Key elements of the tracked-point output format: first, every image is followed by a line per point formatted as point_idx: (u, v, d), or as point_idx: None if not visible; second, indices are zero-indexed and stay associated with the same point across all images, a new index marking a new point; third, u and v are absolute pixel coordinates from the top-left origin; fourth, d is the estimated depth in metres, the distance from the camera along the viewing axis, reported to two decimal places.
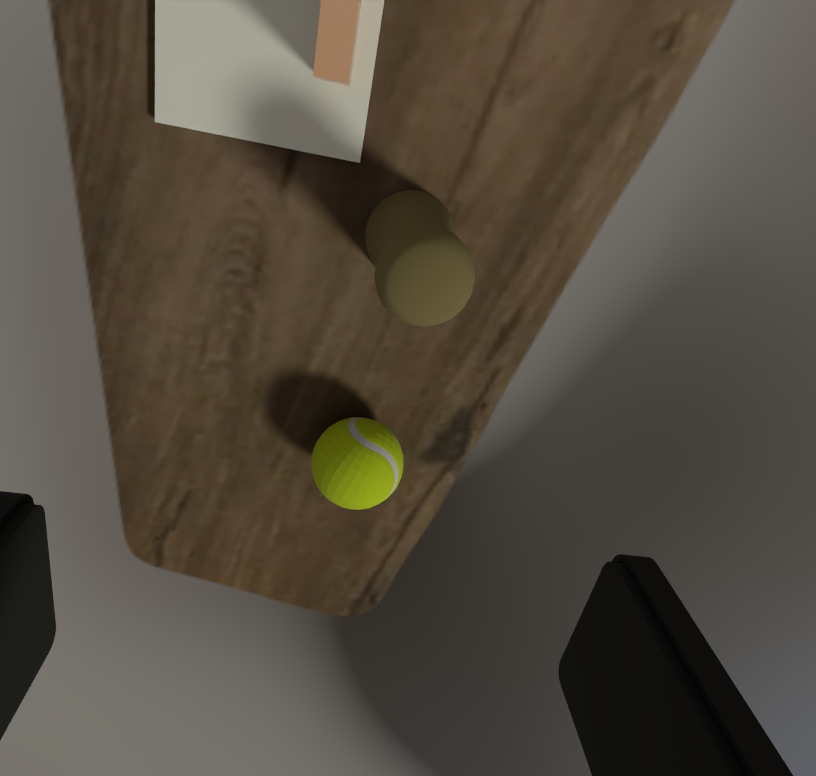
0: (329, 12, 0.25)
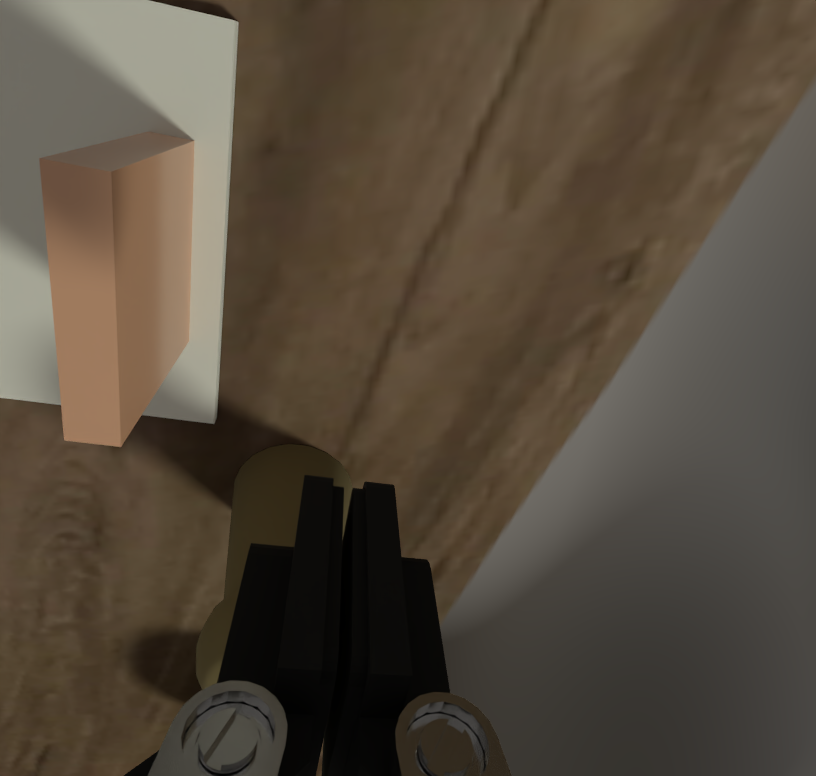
0: (73, 366, 0.16)
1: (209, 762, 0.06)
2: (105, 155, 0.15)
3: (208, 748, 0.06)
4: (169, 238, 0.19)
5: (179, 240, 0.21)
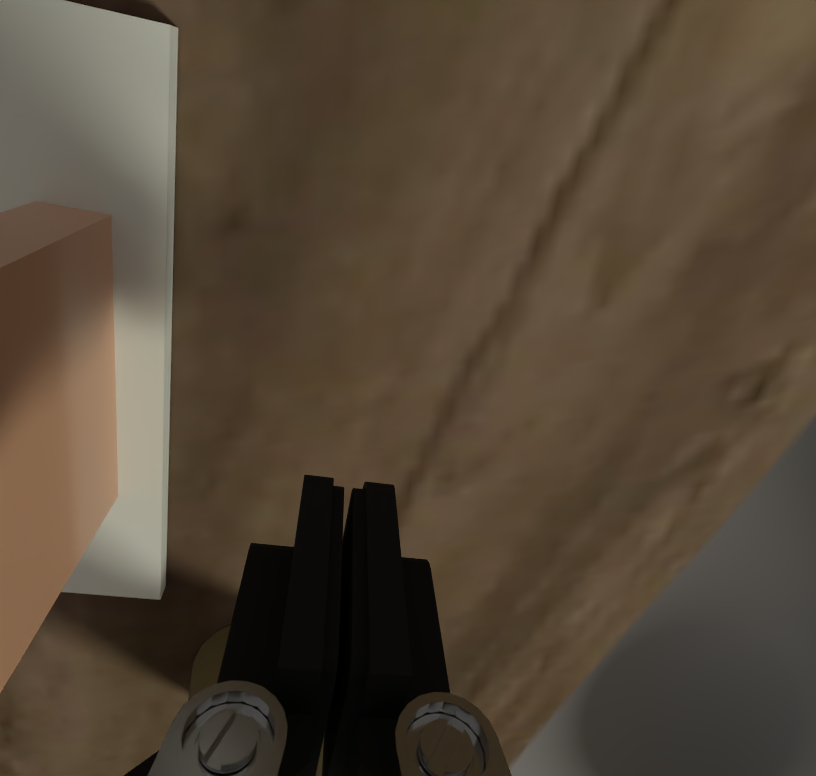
0: None
1: (209, 762, 0.06)
2: None
3: (208, 748, 0.06)
4: (56, 384, 0.12)
5: (84, 374, 0.13)
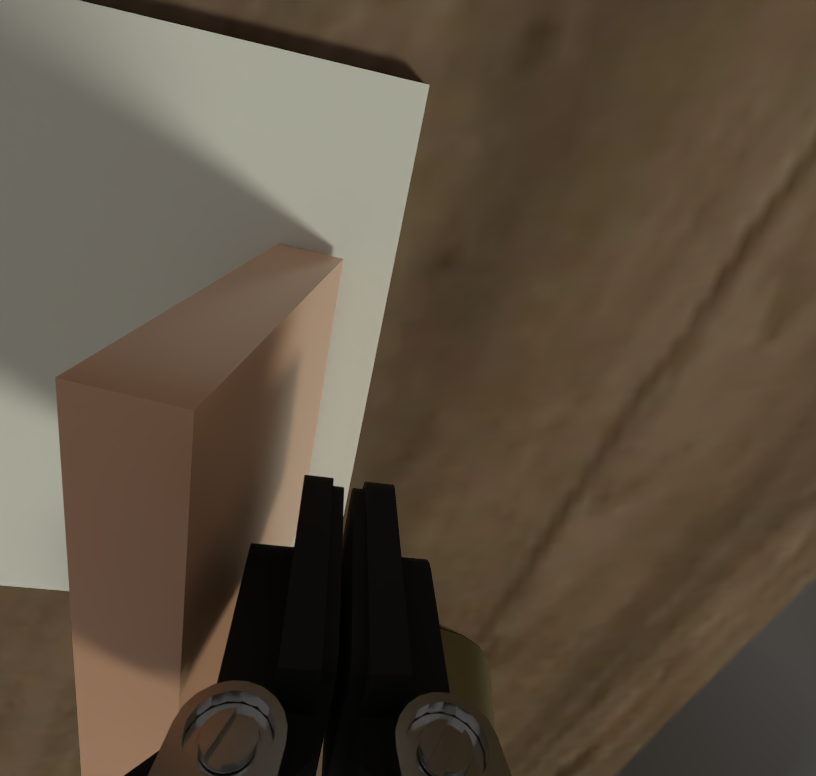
0: (101, 701, 0.09)
1: (209, 762, 0.06)
2: (197, 335, 0.08)
3: (208, 748, 0.06)
4: (292, 421, 0.12)
5: (305, 409, 0.13)
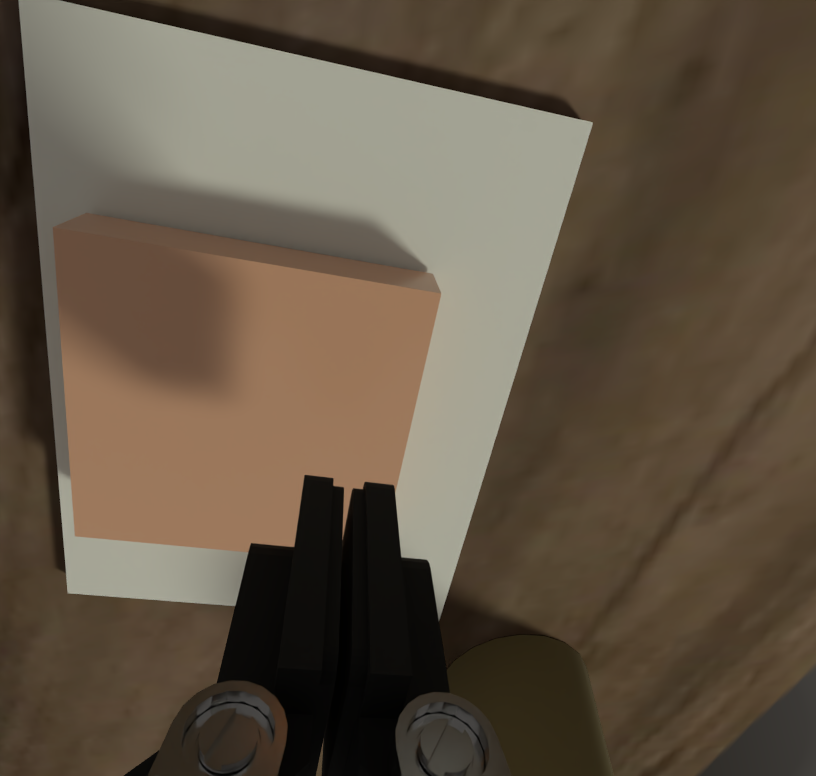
0: None
1: (209, 762, 0.06)
2: (167, 236, 0.12)
3: (208, 748, 0.06)
4: (287, 386, 0.13)
5: (339, 408, 0.14)
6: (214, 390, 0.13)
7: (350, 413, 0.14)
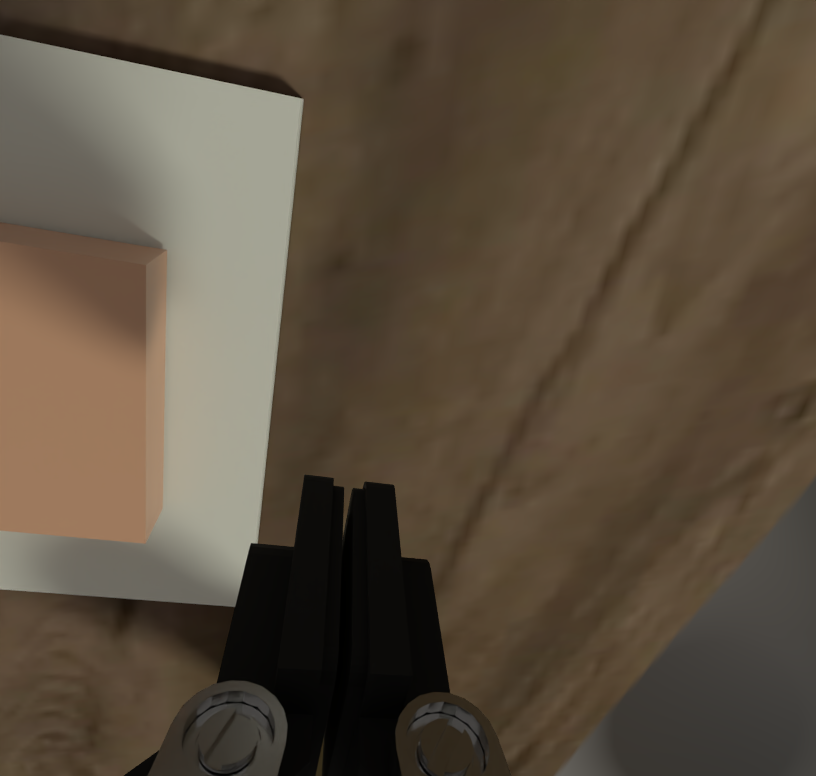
0: None
1: (209, 762, 0.06)
2: None
3: (208, 748, 0.06)
4: (8, 360, 0.14)
5: (67, 382, 0.14)
6: None
7: (80, 387, 0.14)
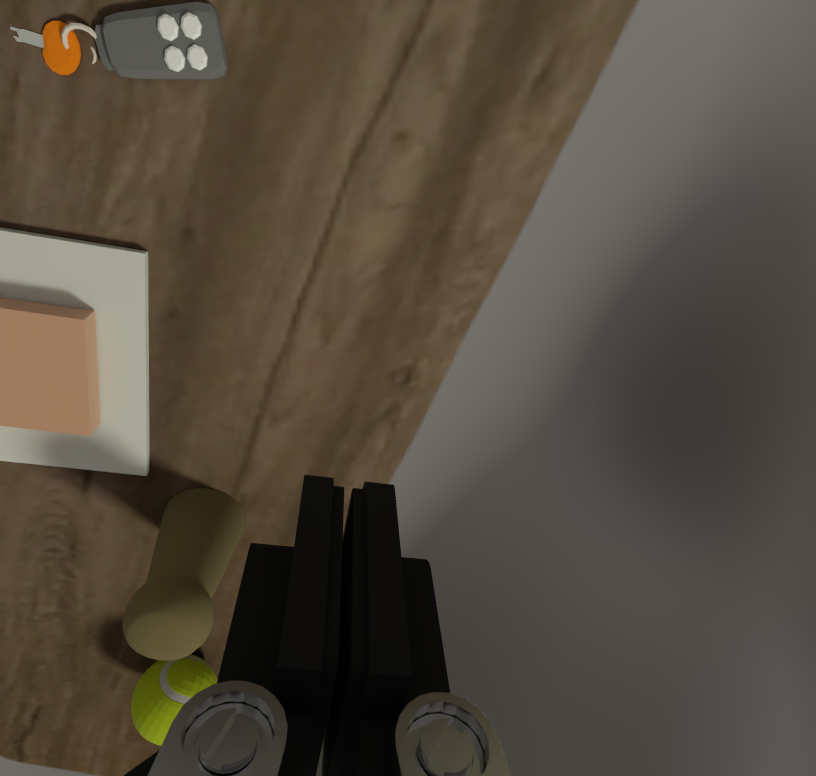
0: None
1: (209, 762, 0.06)
2: None
3: (208, 748, 0.06)
4: (31, 356, 0.34)
5: (54, 365, 0.35)
6: (2, 357, 0.34)
7: (60, 367, 0.35)
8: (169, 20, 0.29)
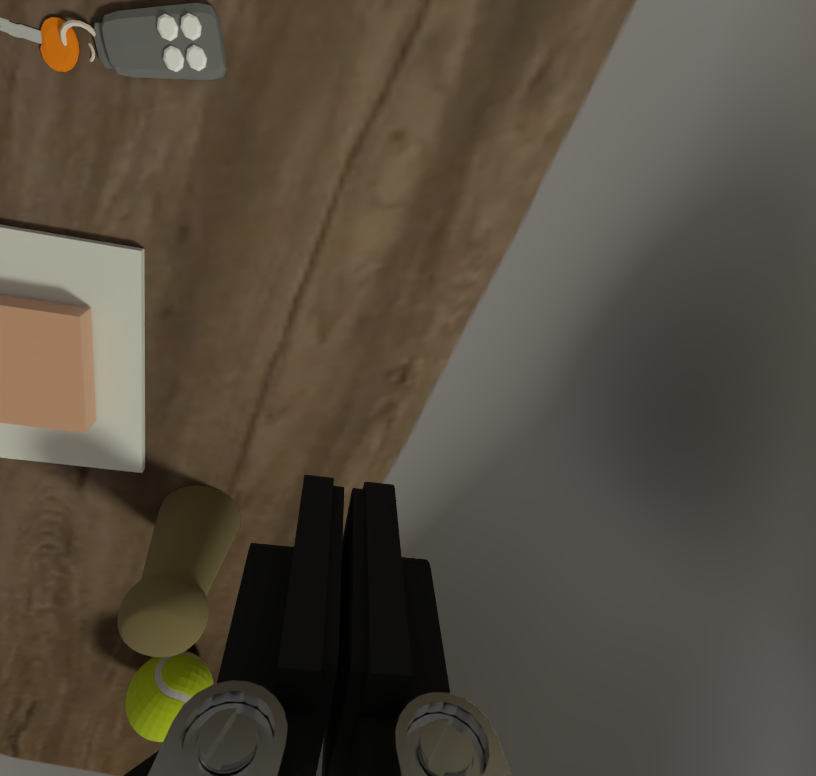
0: None
1: (209, 762, 0.06)
2: None
3: (208, 748, 0.06)
4: (26, 352, 0.34)
5: (50, 361, 0.35)
6: None
7: (55, 364, 0.35)
8: (169, 20, 0.29)
